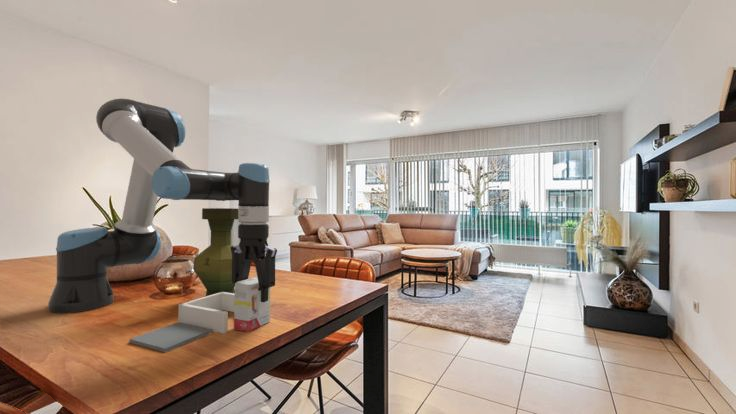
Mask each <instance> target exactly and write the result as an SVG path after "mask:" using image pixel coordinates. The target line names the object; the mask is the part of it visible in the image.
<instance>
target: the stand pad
mask: <svg viewBox="0 0 736 414" xmlns="http://www.w3.org/2000/svg"><path fill="white" fill-rule="evenodd" d="M212 333H213V331H212V329H208V328H203V327H198V326H194V325H189V324H185V323H180V322H178V321H177V322H174V323H172V324H169V325H165V326H163V327H159V328H158V329H154V330H150V331H149V332H145V333H143V334H140V335H137V336H134V337H132V338H129V343H130V344H134V345H137V346H142V347H144V348H148V349H152V350H156V351H158V352H163V353H167V352H169V351H172V350H174V349H177V348H179V347H181V346H183V345H186V344H190V342H191V343H192V342H194V341H196V340H198V339H201V338H203V337H206V336H208V335H210V334H212Z"/></svg>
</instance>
